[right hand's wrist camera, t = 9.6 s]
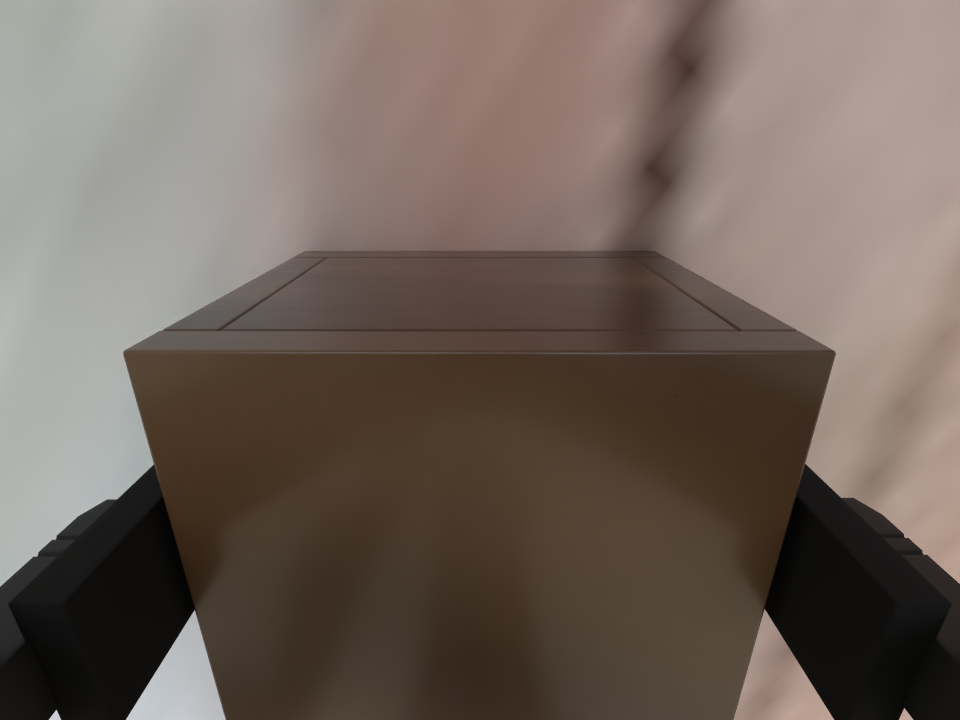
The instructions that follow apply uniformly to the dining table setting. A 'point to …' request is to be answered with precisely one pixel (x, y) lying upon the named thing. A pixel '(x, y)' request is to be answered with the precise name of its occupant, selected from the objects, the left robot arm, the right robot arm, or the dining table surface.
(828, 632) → the right robot arm
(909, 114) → the dining table surface
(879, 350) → the dining table surface
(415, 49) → the dining table surface
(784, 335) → the cabinet
